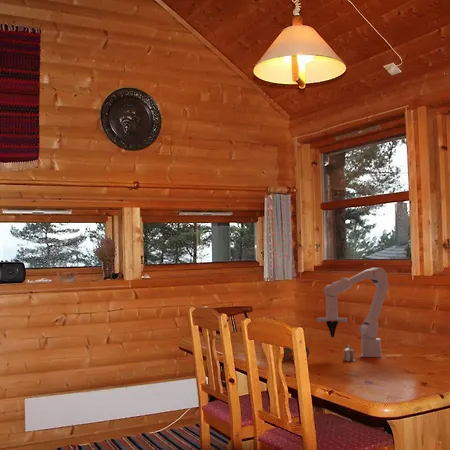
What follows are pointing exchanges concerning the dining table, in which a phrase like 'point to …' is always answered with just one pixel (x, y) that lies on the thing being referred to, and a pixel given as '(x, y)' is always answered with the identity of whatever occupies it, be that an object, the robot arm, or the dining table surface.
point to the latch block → (351, 355)
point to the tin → (289, 355)
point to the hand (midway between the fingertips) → (332, 336)
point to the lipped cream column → (346, 354)
